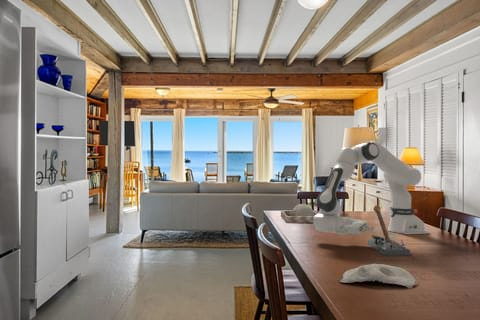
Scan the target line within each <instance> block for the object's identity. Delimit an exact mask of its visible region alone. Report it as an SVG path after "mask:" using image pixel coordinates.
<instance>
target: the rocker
mask: <svg viewBox="0 0 480 320" xmlns="http://www.w3.org/2000/svg"><path fill="white" fill-rule="evenodd" d="M371 239H377V240H378V239H381V241H384V239H385V237H384V236H379V235H375V234H371Z"/></svg>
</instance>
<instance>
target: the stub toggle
mask: <svg viewBox="0 0 480 320" xmlns="http://www.w3.org/2000/svg"><path fill="white" fill-rule="evenodd" d="M400 244H401V245H402V248H403V249H404V248H405V247H406V244H405V242H404V240H403V239H400ZM406 248H407V247H406Z"/></svg>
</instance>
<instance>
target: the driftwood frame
mask: <svg viewBox="0 0 480 320" xmlns="http://www.w3.org/2000/svg"><path fill="white" fill-rule="evenodd" d="M313 212H314V215H316V214H317V213H318V212H316V211H315V210H313ZM280 217H281V219H282V220H283V221H284V222H285V223H295V224H296V223H298V224H299V223H300V224H301V223H303V224H304V223H306V224H307V223H310V224H313V217H314V216H292V210H280Z"/></svg>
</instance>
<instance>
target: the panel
mask: <svg viewBox="0 0 480 320" xmlns="http://www.w3.org/2000/svg"><path fill="white" fill-rule="evenodd" d="M390 241H391V242H392V245H391V246H390V243H388V242H386V241H385V238H384V241H381V239H378V240H377V239H373V238H370V239H369V238H368V239H367V245H368V246H370V247H371V248H373V249H375V250H376V251H377V252H378V253H380V254H382V255H383V256H410V255H411V249H409V248H408V247H405V248H404V249H403V248H402V244H401V243H399V242H396V241H394V240H393V239H392V240H390Z"/></svg>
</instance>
